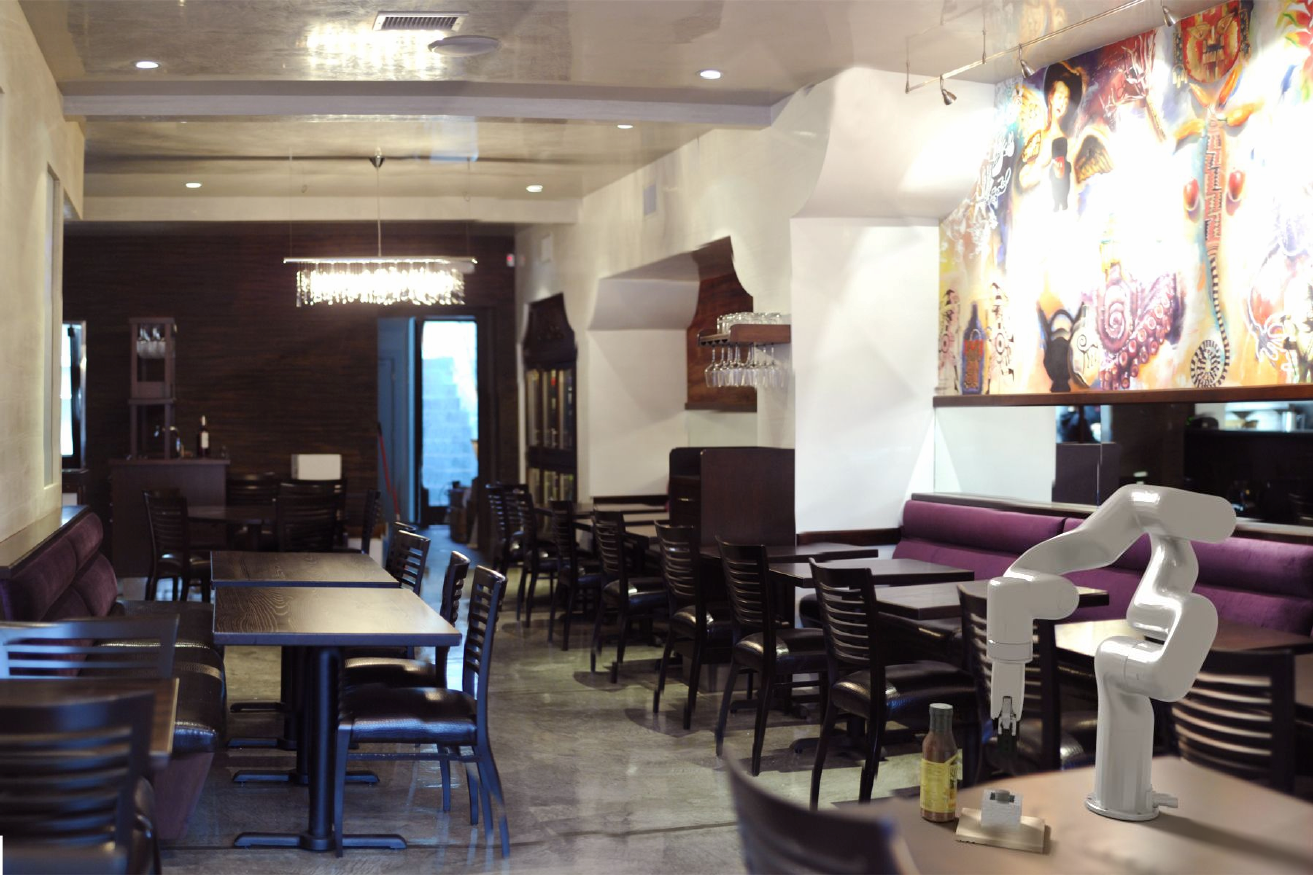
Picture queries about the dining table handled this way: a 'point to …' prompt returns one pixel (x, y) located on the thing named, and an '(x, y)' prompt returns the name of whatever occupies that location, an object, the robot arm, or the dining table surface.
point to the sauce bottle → (939, 767)
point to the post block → (1027, 839)
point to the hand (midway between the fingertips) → (1008, 748)
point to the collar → (1001, 813)
